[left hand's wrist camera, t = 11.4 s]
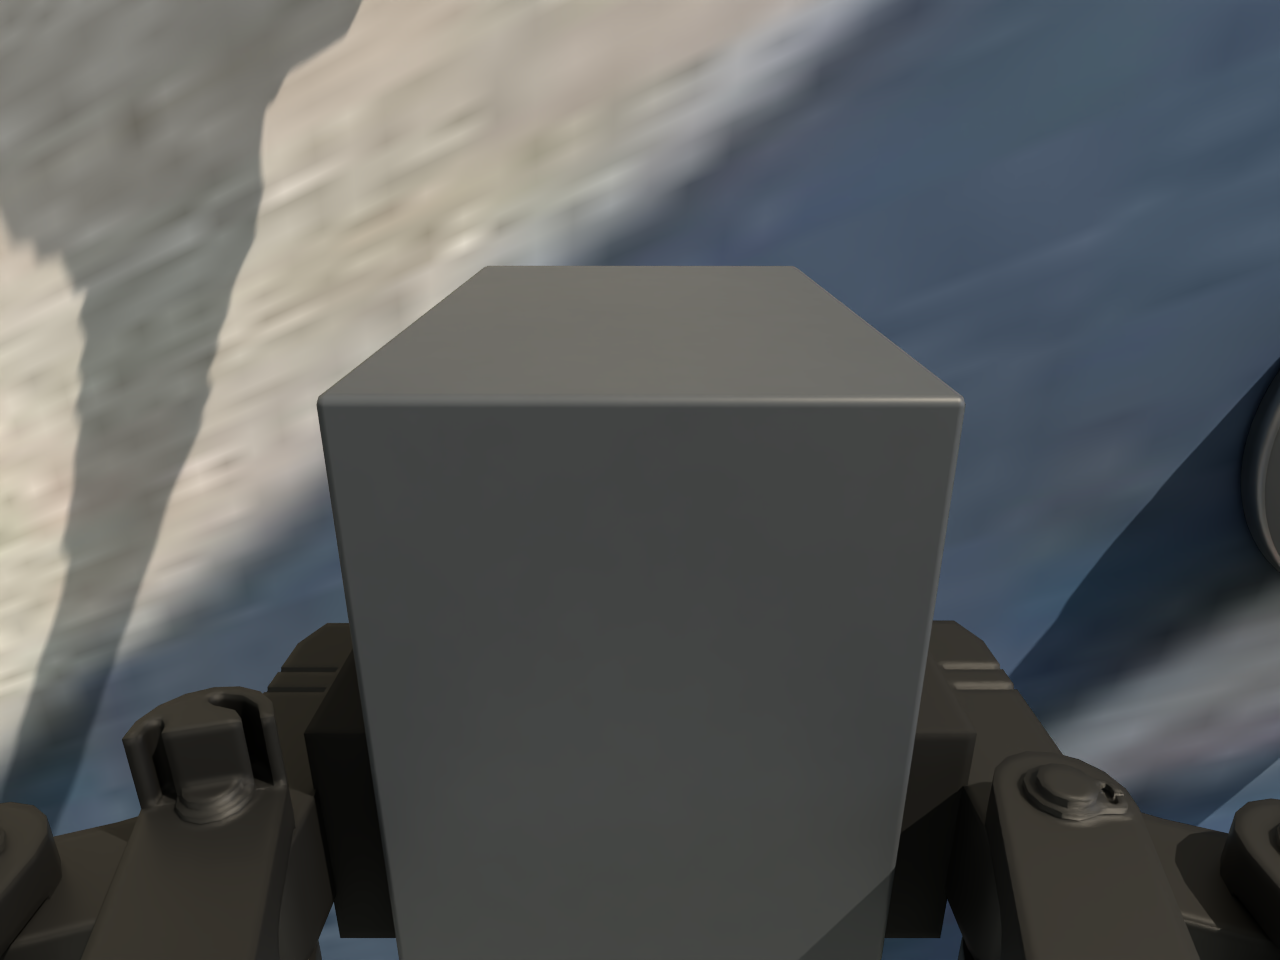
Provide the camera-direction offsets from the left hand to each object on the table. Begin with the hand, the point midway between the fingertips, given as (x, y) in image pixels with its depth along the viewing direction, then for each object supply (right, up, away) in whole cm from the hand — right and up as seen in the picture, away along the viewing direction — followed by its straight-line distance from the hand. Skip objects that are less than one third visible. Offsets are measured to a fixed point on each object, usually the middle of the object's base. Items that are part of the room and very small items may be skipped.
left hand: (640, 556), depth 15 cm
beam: (0, -24, +10) cm, 26 cm away
